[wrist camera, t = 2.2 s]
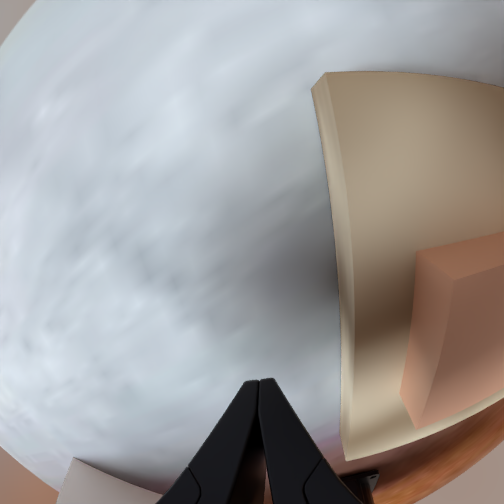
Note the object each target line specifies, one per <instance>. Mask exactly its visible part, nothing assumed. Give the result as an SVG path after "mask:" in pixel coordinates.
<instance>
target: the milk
mask: <svg viewBox="0 0 504 504" xmlns="http://www.w3.org/2000/svg"><path fill="white" fill-rule="evenodd" d="M162 496H163V495H162V494H158V493H155V492H152V491H149V490H146V489H144V488H141V487H138V486H135V485H133V484H130V483H128V482H125V481H123V480H120V479H118V478H115V477H113V476H111V475H108V474H106V473H104V472H102V471H100V470H97V469H95V468H93V467H91V466H89V465H87V464H85V463H83V462H81V461H79V460H78V459H76V458H74V457H73V459H72V462H71V464H70V467H69V469H68V472H67V474H66V477H65V480H64V482H63V485H62V488H61V490H60V493H59V496H58V499H57V502H56V504H155V503H156V502H157V501H158V500H159V499H160V498H161V497H162Z"/></svg>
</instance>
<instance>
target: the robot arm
mask: <svg viewBox="0 0 504 504" xmlns="http://www.w3.org/2000/svg"><path fill="white" fill-rule="evenodd" d="M266 467H267V472H268V478H269V484H270V490H271V495H272V501H273V504H374V500H373V496H372V492H373V490H374V487H375V485H376V483H377V480H378V478H379V476H380V474H379V471H378V470H374V471H370V472H366V473H363V474H359V475H355V476H351V477H346V478H342V479H340V478H339V477H338V476H337V474H336V473H335V472H334V470H333V469H332V468H331V466H330V465H329V463H328V462H327V460H326V459H325V458H324V456H323V455H322V453H321V452H320V450H319V449H318V447H317V446H316V444H315V443H314V441H313V439H312V438H311V436H310V435H309V433H308V432H307V430H306V429H305V427H304V426H303V424H302V422H301V421H300V419H299V418H298V416H297V415H296V413H295V411H294V410H293V408H292V407H291V405H290V403H289V402H288V400H287V399H286V397H285V395H284V394H283V392H282V390H281V389H280V387H279V386H278V384H277V382H276V381H275V379H274V378H266V379H261V380H260V381H259V380H249V381H245V382H244V383H243V385H242V386H241V388H240V390H239V391H238V393H237V394H236V396H235V397H234V399H233V400H232V402H231V403H230V405H229V406H228V408H227V410H226V411H225V413H224V414H223V416H222V417H221V419H220V420H219V422H218V423H217V424H216V426H215V427H214V429H213V430H212V432H211V433H210V435H209V436H208V438H207V439H206V440H205V442H204V443H203V445H202V446H201V448H200V449H199V450H198V452H197V453H196V455H195V456H194V457H193V459H192V460H191V462H190V463H189V464H188V467H186V468H185V470H184V471H183V472H182V474H181V475H180V476H179V478H178V479H177V480H176V481H175V483H174V484H173V485H172V486H171V487H170V489H169V490H168V491H167V492H166V493H165V494H164V495H163V496H162V497H161V498H160V499H159V500H158V501H157V502H156V503H155V504H263V502H264V491H265V479H266Z"/></svg>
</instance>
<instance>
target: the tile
mask: <svg viewBox="0 0 504 504" xmlns="http://www.w3.org/2000/svg"><path fill="white" fill-rule="evenodd" d="M502 388H504V231H503V232H499V233H495V234H491V235H487V236H482V237H478V238H474V239H469V240H465V241H461V242H456V243H452V244H447V245H442V246H438V247H433V248H428V249H424V250H419V251H416V265H415V285H414V298H413V309H412V319H411V327H410V335H409V342H408V349H407V355H406V361H405V367H404V372H403V377H402V382H401V387H400V391H399V394H400V397H401V399H402V401H403V403H404V405H405V407H406V409H407V411H408V413H409V416H410V418H411V420H412V422H413V424H414V427H415V429H416V430H417V429H420V428H423V427H425V426H428V425H430V424H433V423H435V422H438V421H440V420H442V419H444V418H447V417H449V416H451V415H453V414H456V413H458V412H460V411H462V410H464V409H466V408H468V407H470V406H472V405H474V404H476V403H478V402H480V401H481V400H483V399H485V398H487V397H489V396H491V395H492V394H494V393H496V392H497V391H499V390H501V389H502Z"/></svg>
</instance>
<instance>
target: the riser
mask: <svg viewBox="0 0 504 504" xmlns="http://www.w3.org/2000/svg"><path fill="white" fill-rule="evenodd" d="M311 92H312V96H313V101H314V106H315V111H316V116H317V121H318V126H319V132H320V137H321V143H322V149H323V155H324V161H325V167H326V174H327V181H328V188H329V195H330V203H331V211H332V219H333V229H334V238H335V249H336V260H337V272H338V287H339V304H340V328H341V411H340V437H341V442H342V446H343V450H344V455H345V459H346V461H350V460H354V459H358V458H362V457H366V456H369V455H373V454H377V453H380V452H383V451H387V450H390V449H393V448H396V447H399V446H402V445H405V444H408V443H410V442H413V441H416V440H418V439H421V438H424V437H426V436H429V435H431V434H433V433H436V432H438V431H440V430H443V429H445V428H447V427H449V426H452V425H454V424H456V423H458V422H460V421H462V420H464V419H466V418H468V417H470V416H472V415H474V414H476V413H478V412H479V411H481V410H483V409H485V408H487V407H488V406H490V405H492V404H494V403H495V402H497V401H499V400H500V399H502V398H503V397H504V388H502V389H501V390H499V391H497V392H496V393H494V394H492V395H491V396H489V397H487V398H485V399H483V400H481V401H480V402H478V403H476V404H474V405H472V406H470V407H468V408H466V409H464V410H462V411H460V412H458V413H456V414H453V415H451V416H449V417H447V418H444V419H442V420H440V421H438V422H435V423H433V424H430V425H428V426H425V427H423V428H420V429H417V430H416V429H415V427H414V424H413V422H412V420H411V418H410V416H409V413H408V411H407V409H406V407H405V405H404V403H403V401H402V399H401V397H400V394H399V391H400V387H401V382H402V377H403V372H404V367H405V361H406V355H407V349H408V342H409V335H410V327H411V319H412V309H413V298H414V285H415V265H416V251H419V250H424V249H428V248H433V247H438V246H442V245H447V244H452V243H456V242H461V241H465V240H469V239H474V238H478V237H482V236H487V235H491V234H495V233H499V232H503V231H504V88H503V87H499V86H495V85H490V84H486V83H481V82H476V81H471V80H465V79H459V78H453V77H446V76H438V75H429V74H419V73H405V72H383V71H349V72H326V73H324V74H323V76H322V77H321V78H320V79H319V80H318V81H317V83H316V84H315V85H314V86H313V87H312V88H311Z"/></svg>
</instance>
